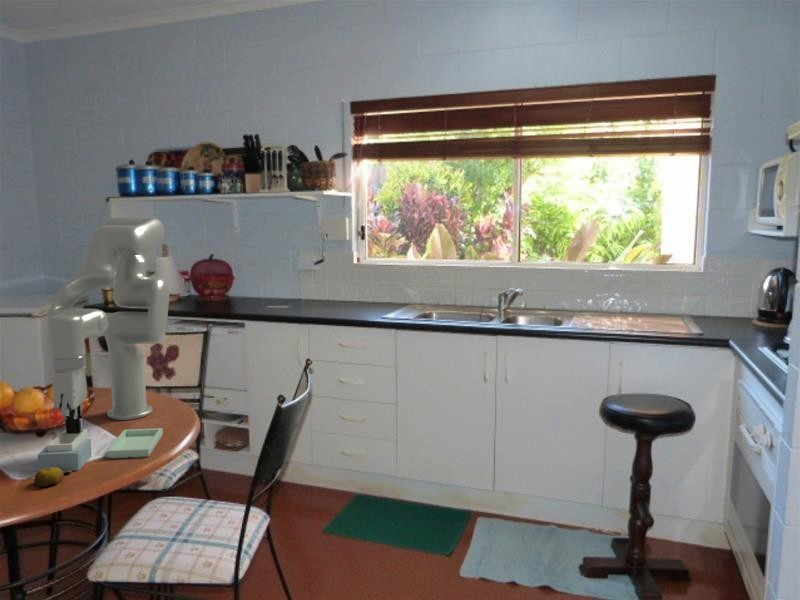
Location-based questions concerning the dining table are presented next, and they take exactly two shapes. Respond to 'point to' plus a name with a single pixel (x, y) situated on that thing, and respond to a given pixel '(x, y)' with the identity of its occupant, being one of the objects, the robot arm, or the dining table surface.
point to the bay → (66, 457)
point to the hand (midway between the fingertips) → (74, 431)
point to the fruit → (49, 476)
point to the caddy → (68, 440)
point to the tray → (135, 443)
